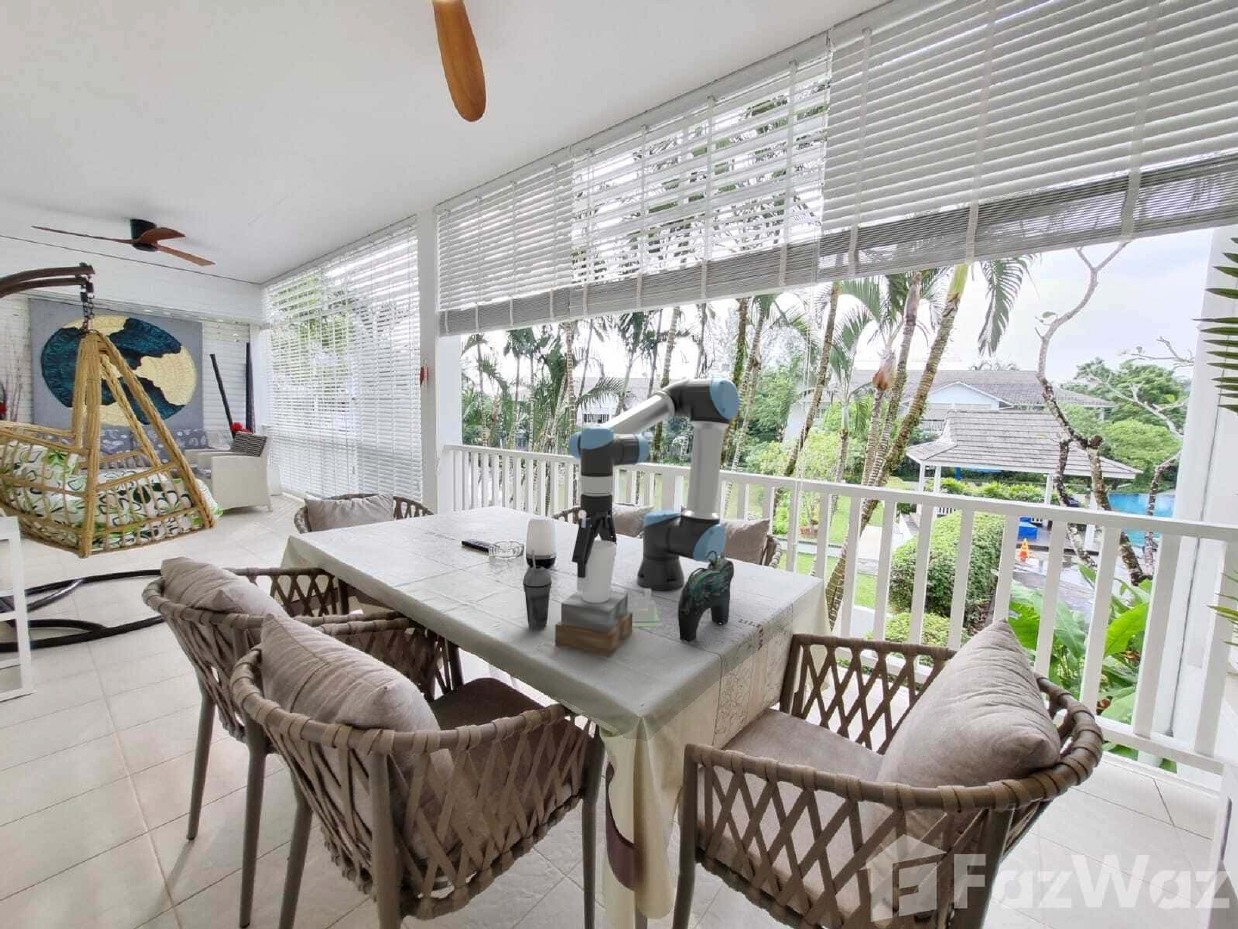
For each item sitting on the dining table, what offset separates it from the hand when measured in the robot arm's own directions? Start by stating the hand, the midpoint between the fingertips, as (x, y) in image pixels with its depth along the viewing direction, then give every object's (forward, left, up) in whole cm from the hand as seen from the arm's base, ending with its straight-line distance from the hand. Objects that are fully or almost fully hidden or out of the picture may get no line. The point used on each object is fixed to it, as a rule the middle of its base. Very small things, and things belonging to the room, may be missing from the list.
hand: (595, 581), depth 119 cm
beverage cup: (0, -16, -14) cm, 22 cm away
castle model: (-17, +3, -15) cm, 22 cm away
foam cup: (0, 0, -4) cm, 4 cm away
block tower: (0, 0, -14) cm, 14 cm away
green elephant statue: (-16, +24, -14) cm, 32 cm away
